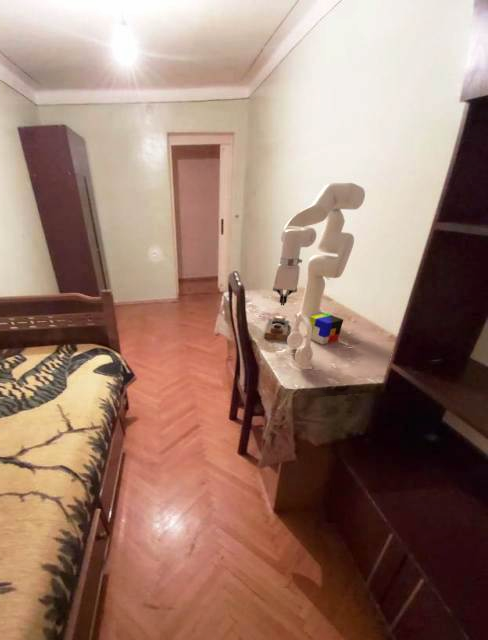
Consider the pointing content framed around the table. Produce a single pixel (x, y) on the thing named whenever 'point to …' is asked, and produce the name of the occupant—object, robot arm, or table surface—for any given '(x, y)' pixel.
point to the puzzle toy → (325, 328)
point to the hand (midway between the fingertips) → (282, 304)
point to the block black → (283, 322)
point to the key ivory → (279, 318)
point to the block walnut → (276, 332)
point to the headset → (296, 340)
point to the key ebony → (277, 325)
